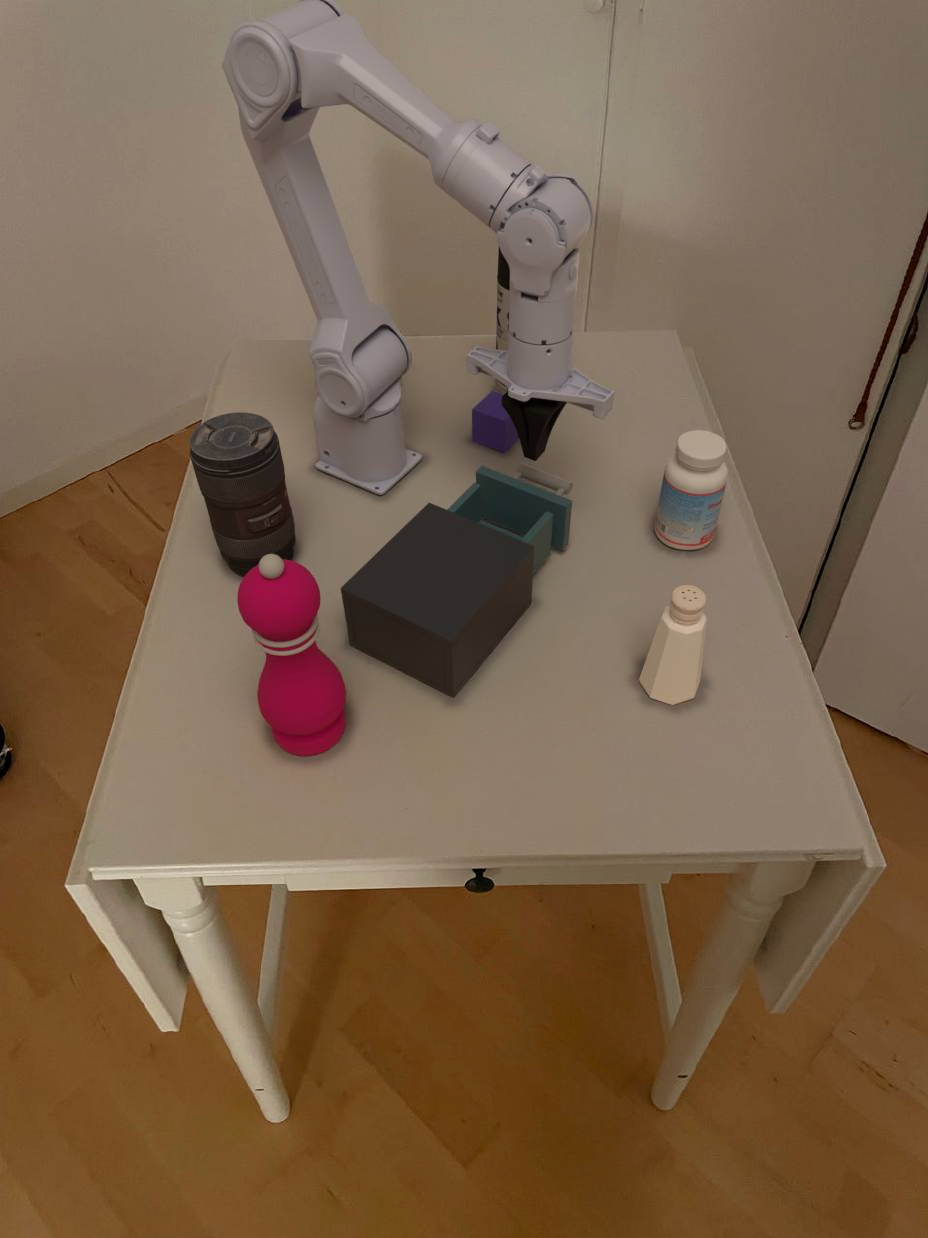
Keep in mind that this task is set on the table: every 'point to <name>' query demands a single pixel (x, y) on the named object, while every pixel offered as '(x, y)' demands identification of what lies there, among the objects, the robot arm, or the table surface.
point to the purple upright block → (493, 424)
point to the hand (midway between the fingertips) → (534, 453)
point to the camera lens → (244, 488)
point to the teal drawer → (521, 507)
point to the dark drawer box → (439, 597)
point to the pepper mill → (292, 657)
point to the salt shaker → (677, 648)
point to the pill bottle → (692, 491)
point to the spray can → (502, 311)
